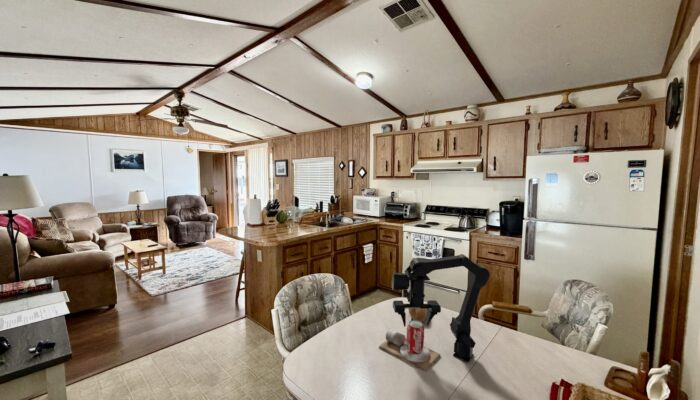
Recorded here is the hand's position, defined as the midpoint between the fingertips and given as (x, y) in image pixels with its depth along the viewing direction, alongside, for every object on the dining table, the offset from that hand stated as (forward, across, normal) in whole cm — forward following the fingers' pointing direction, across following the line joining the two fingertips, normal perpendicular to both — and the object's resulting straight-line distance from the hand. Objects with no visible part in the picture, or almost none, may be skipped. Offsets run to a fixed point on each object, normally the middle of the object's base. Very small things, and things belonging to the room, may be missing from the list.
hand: (415, 326), depth 123 cm
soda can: (+11, 0, 0) cm, 11 cm away
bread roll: (+13, -10, -33) cm, 37 cm away
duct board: (+13, +2, -2) cm, 13 cm away
